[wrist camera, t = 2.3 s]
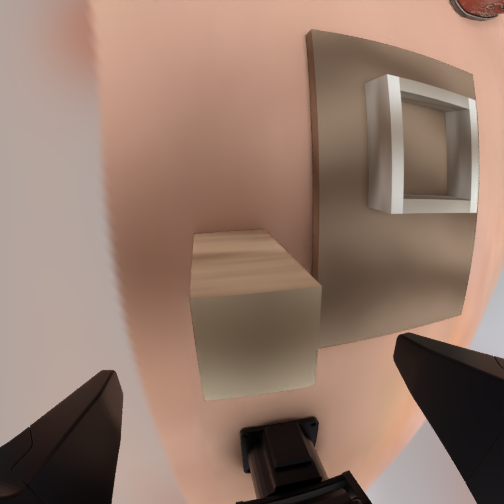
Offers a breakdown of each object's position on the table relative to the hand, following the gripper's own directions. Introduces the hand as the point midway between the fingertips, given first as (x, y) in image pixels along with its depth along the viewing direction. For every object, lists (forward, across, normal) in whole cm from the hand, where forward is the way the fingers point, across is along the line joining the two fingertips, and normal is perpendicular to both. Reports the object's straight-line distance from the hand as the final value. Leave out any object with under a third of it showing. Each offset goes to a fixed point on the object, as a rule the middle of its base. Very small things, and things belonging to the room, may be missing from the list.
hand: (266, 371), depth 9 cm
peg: (+10, 0, 0) cm, 10 cm away
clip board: (+10, -12, -4) cm, 16 cm away
